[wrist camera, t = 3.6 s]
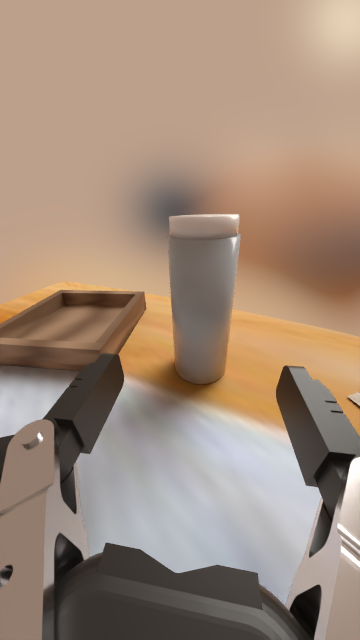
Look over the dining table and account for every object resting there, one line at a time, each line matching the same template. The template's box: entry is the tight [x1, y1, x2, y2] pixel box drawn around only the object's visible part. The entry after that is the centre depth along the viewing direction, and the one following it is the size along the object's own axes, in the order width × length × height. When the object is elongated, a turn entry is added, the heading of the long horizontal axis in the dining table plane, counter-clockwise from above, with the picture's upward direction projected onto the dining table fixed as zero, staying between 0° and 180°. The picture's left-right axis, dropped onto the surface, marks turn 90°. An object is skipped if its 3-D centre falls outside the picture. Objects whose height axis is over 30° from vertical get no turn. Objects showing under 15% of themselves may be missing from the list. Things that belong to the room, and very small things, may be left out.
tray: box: [0, 290, 146, 371], centre depth 25 cm, size 14×14×3 cm
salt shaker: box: [167, 214, 241, 384], centre depth 16 cm, size 5×5×13 cm
